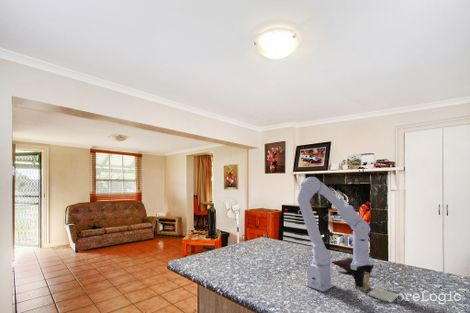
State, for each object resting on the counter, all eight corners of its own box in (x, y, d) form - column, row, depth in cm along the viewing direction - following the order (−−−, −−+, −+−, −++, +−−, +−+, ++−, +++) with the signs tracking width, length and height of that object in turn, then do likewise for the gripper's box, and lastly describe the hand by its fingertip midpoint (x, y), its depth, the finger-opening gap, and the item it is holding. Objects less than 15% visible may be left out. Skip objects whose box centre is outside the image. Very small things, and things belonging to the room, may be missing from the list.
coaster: (391, 303, 90) (391, 301, 90) (367, 295, 96) (367, 293, 96) (399, 296, 95) (399, 294, 95) (376, 289, 101) (376, 287, 101)
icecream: (332, 259, 119) (368, 265, 114) (331, 251, 126) (365, 257, 121) (331, 273, 120) (367, 280, 115) (330, 264, 127) (364, 270, 122)
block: (365, 291, 100) (364, 275, 100) (355, 288, 103) (354, 272, 103) (369, 288, 102) (369, 272, 103) (359, 285, 105) (358, 270, 106)
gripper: (363, 254, 96) (364, 292, 95) (378, 248, 106) (380, 282, 104) (344, 250, 101) (346, 286, 100) (361, 245, 111) (362, 277, 110)
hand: (362, 284), depth 103 cm, fingers open, 5 cm apart
